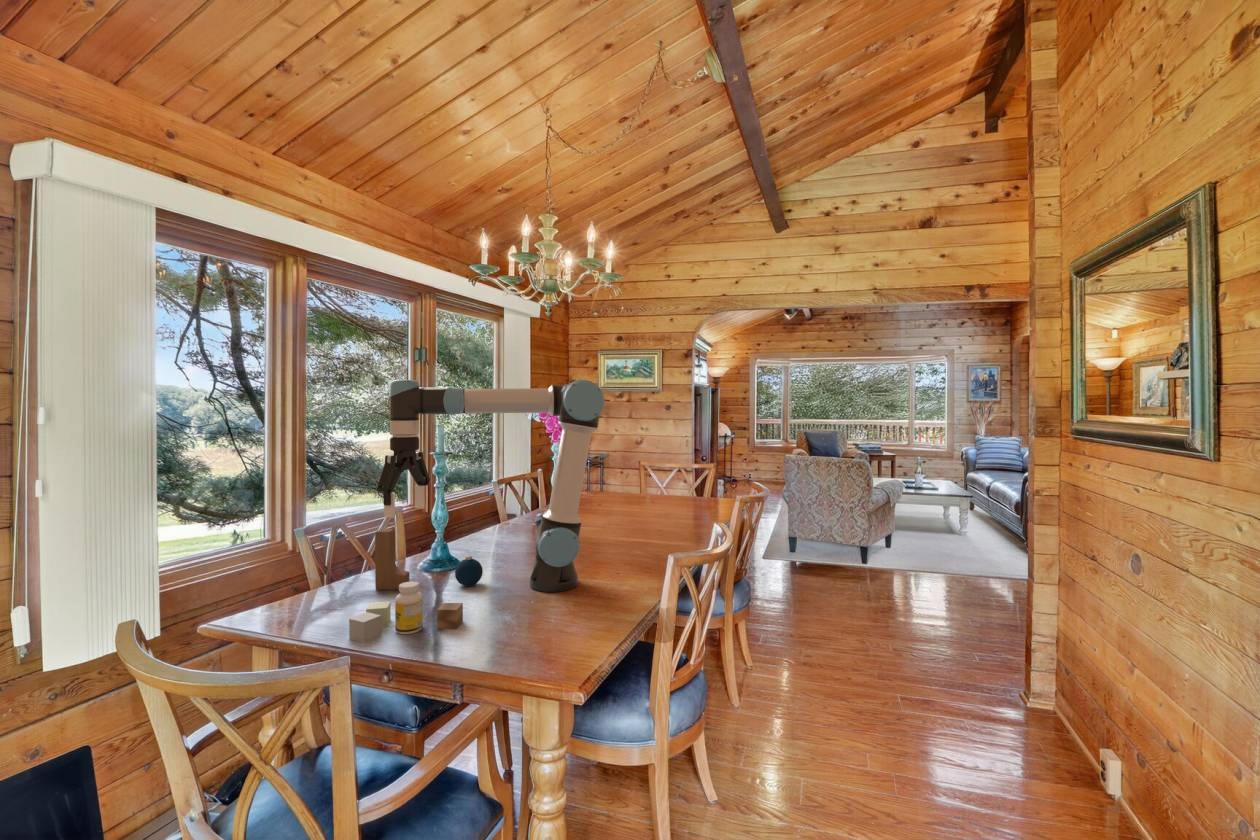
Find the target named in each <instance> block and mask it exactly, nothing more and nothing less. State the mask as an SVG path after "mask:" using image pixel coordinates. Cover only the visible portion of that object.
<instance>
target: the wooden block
mask: <svg viewBox="0 0 1260 840" xmlns="http://www.w3.org/2000/svg"><path fill="white" fill-rule="evenodd" d="M395 533H396V531H395V529H394V528H380V529H378V530H376V531H375V532H374V546H375V547H374V550H375V551H374V555H375V556H374V557H375V559H374V561H375V562H374V564H375V565H374V569H375V574H374V575H375V576H374V577H375V590H376V591H387V590H388V591H389V590H391V591H393V590H394V591H397V590H398V591H399V585H400V584H402V583H405V582H410V571H407V570H402V569H400V568H399V567H398V566H397V563H396V560H395V559H396V558H395V557H396V555H395V553H396V552H395V551H396V549H395V545H396V544H395V543H396V542H395V541H396V540H395V539H396V538H395Z"/></svg>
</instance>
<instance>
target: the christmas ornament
mask: <svg viewBox="0 0 1260 840" xmlns="http://www.w3.org/2000/svg"><path fill="white" fill-rule="evenodd" d="M483 574H484V571H483V566H482V564H481V562H479V561H478V560H477V559H475V558H473V556H472V555H471V554H467V555H465V559H463V560H461V561H460V562H459V563H458V564H457V565H456V567H455V569H454V577H455V579H456V581H457V582H458V583H459V584H460V585H462V586H464V587H472V586H475V585H477V584H478V583H479V581H480V580H481V579H482V576H483Z"/></svg>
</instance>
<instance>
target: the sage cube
mask: <svg viewBox="0 0 1260 840" xmlns="http://www.w3.org/2000/svg"><path fill="white" fill-rule="evenodd" d="M391 604H392V603H391V601H389V600H388V601H377V602H376V601H375V602H369V604H368V606H367V607H366V608H365V613H366V612H369V613H373V614H377V615H381V628H388V626H389V624H390V621H391V620H392V618H391V617H392V615H391Z"/></svg>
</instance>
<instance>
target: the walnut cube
mask: <svg viewBox="0 0 1260 840" xmlns="http://www.w3.org/2000/svg"><path fill="white" fill-rule="evenodd" d="M463 622H464V605H463V602H443V603H442V604H441V605H440V606H439V607H438V608H437V609H436V630H457V629H458V628H459V627H460V625H462V624H463Z"/></svg>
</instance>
